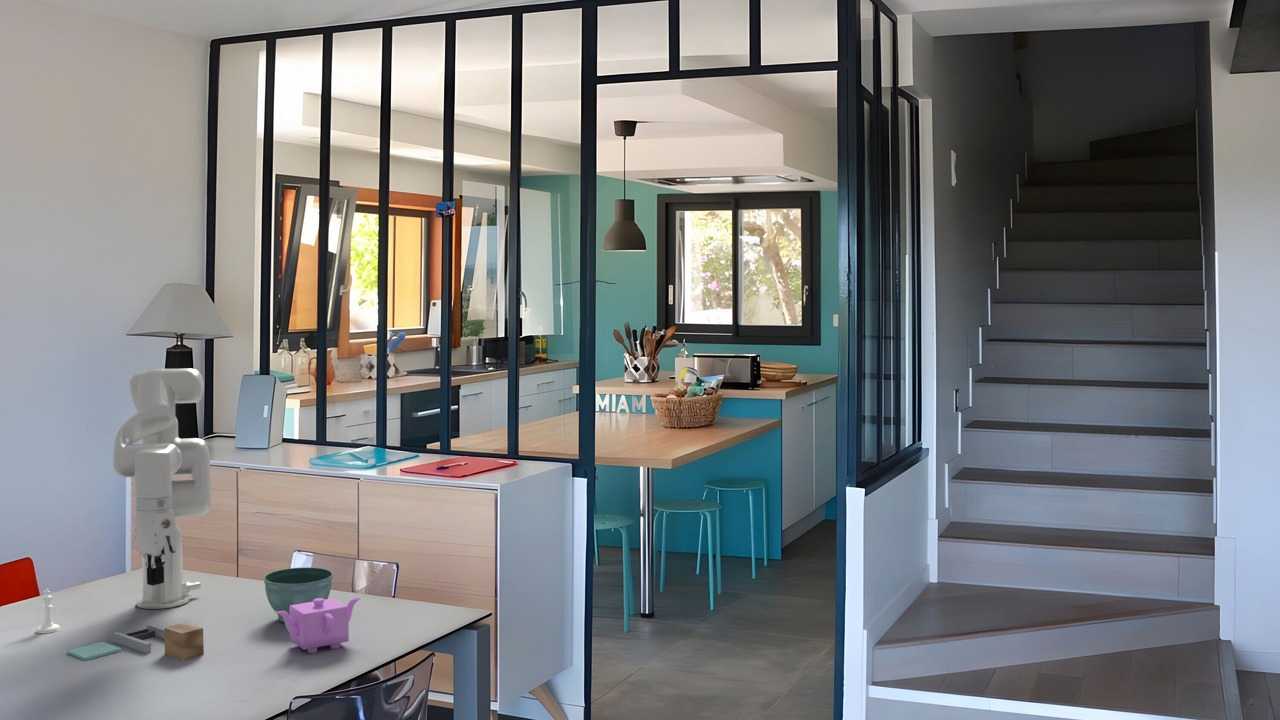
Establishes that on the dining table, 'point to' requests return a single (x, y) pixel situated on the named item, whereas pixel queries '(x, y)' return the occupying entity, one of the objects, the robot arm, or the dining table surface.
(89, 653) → the pad
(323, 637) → the teapot
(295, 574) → the green bowl
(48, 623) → the chess piece
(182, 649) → the walnut block
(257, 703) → the dining table surface
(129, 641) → the grey twin-rail rack
